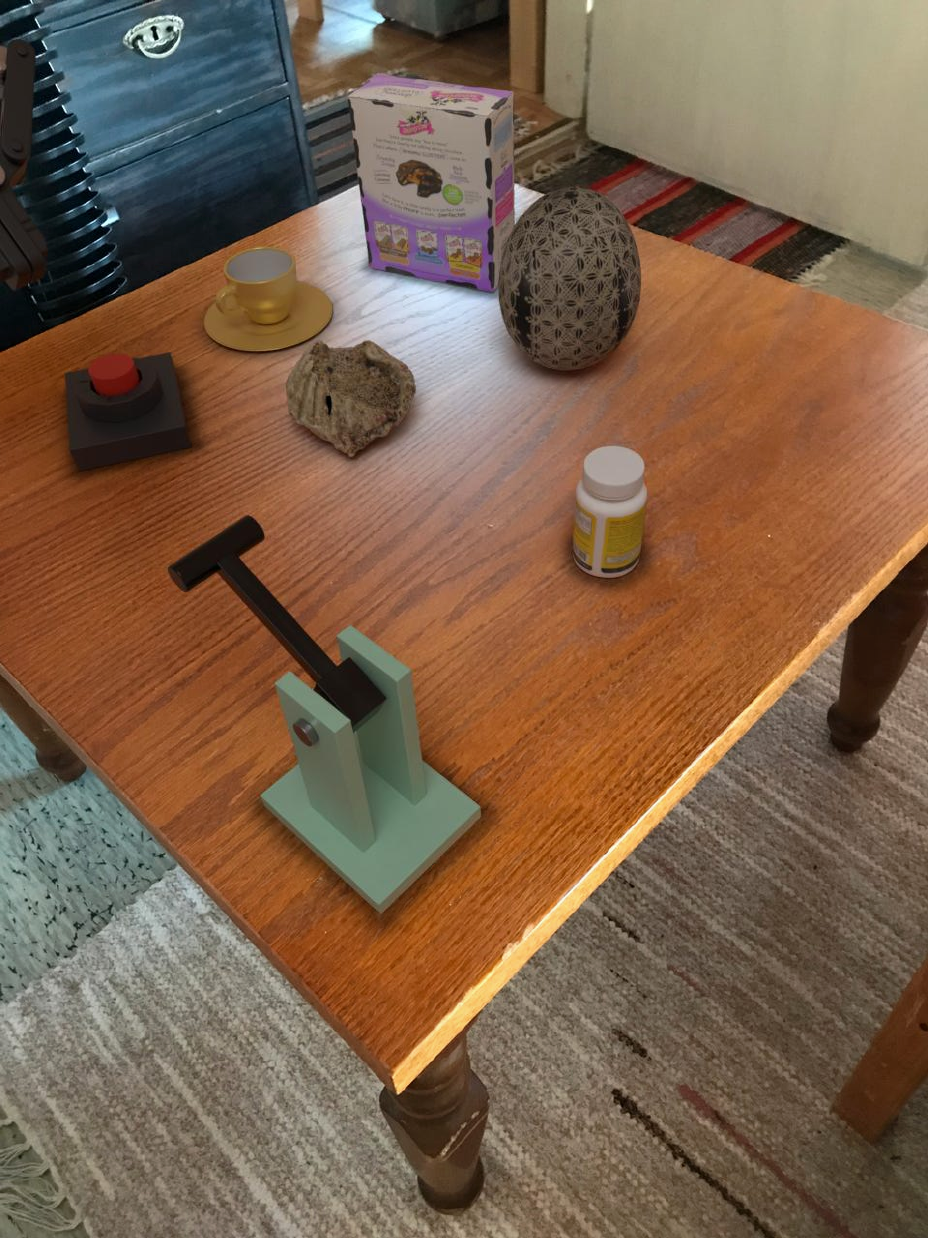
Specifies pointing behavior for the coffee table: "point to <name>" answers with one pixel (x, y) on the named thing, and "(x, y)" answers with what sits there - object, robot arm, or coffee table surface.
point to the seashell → (349, 393)
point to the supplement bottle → (609, 512)
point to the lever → (278, 619)
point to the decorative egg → (569, 279)
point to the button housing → (126, 416)
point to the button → (113, 374)
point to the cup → (265, 303)
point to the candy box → (435, 177)
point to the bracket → (366, 782)
